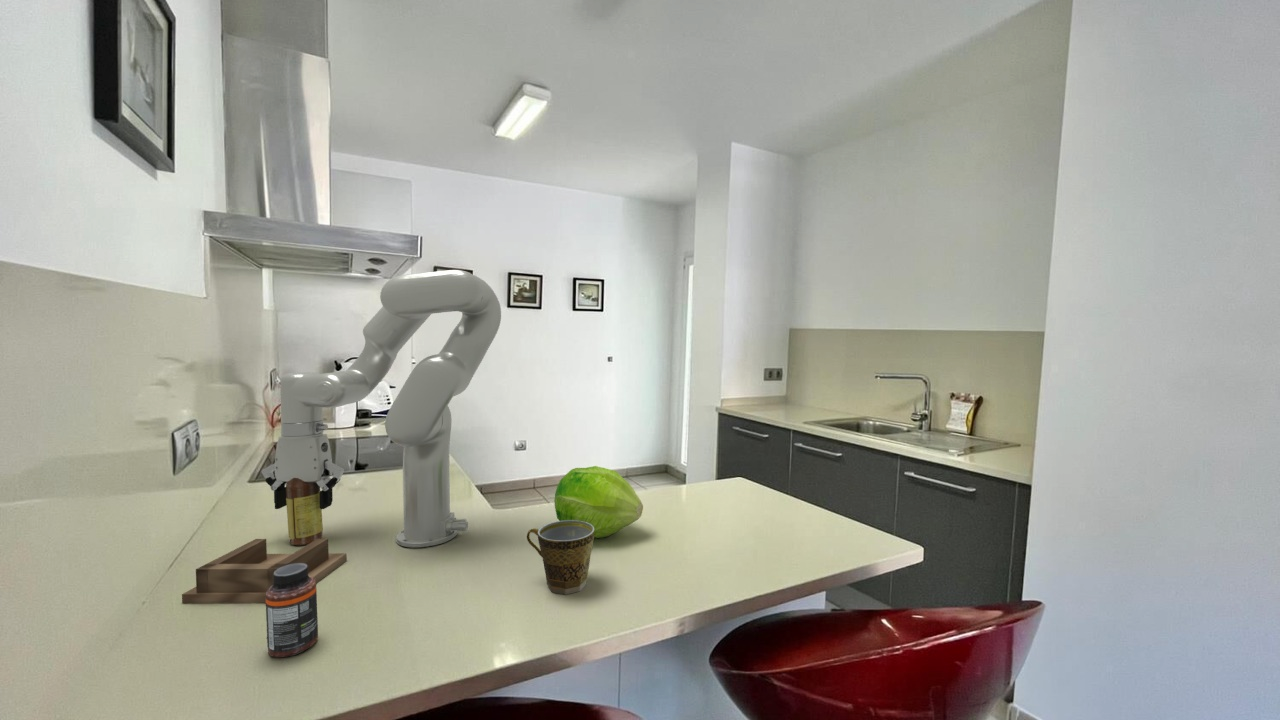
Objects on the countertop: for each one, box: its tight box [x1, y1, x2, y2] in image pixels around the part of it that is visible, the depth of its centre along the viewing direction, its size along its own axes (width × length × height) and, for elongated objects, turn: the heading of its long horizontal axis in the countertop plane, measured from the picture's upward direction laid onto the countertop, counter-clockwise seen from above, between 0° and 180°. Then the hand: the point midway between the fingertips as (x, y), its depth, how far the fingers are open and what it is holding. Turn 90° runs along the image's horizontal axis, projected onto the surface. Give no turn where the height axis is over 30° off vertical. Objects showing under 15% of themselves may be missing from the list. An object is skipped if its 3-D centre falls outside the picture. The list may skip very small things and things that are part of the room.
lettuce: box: [553, 465, 644, 539], centre depth 111 cm, size 17×20×15 cm
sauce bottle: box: [285, 478, 324, 547], centre depth 108 cm, size 7×6×20 cm
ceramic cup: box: [526, 520, 595, 596], centre depth 88 cm, size 13×10×10 cm
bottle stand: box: [181, 538, 348, 604], centre depth 90 cm, size 18×16×6 cm
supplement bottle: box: [265, 563, 319, 658], centre depth 70 cm, size 6×6×11 cm
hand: (303, 507), depth 108 cm, fingers open, 9 cm apart
